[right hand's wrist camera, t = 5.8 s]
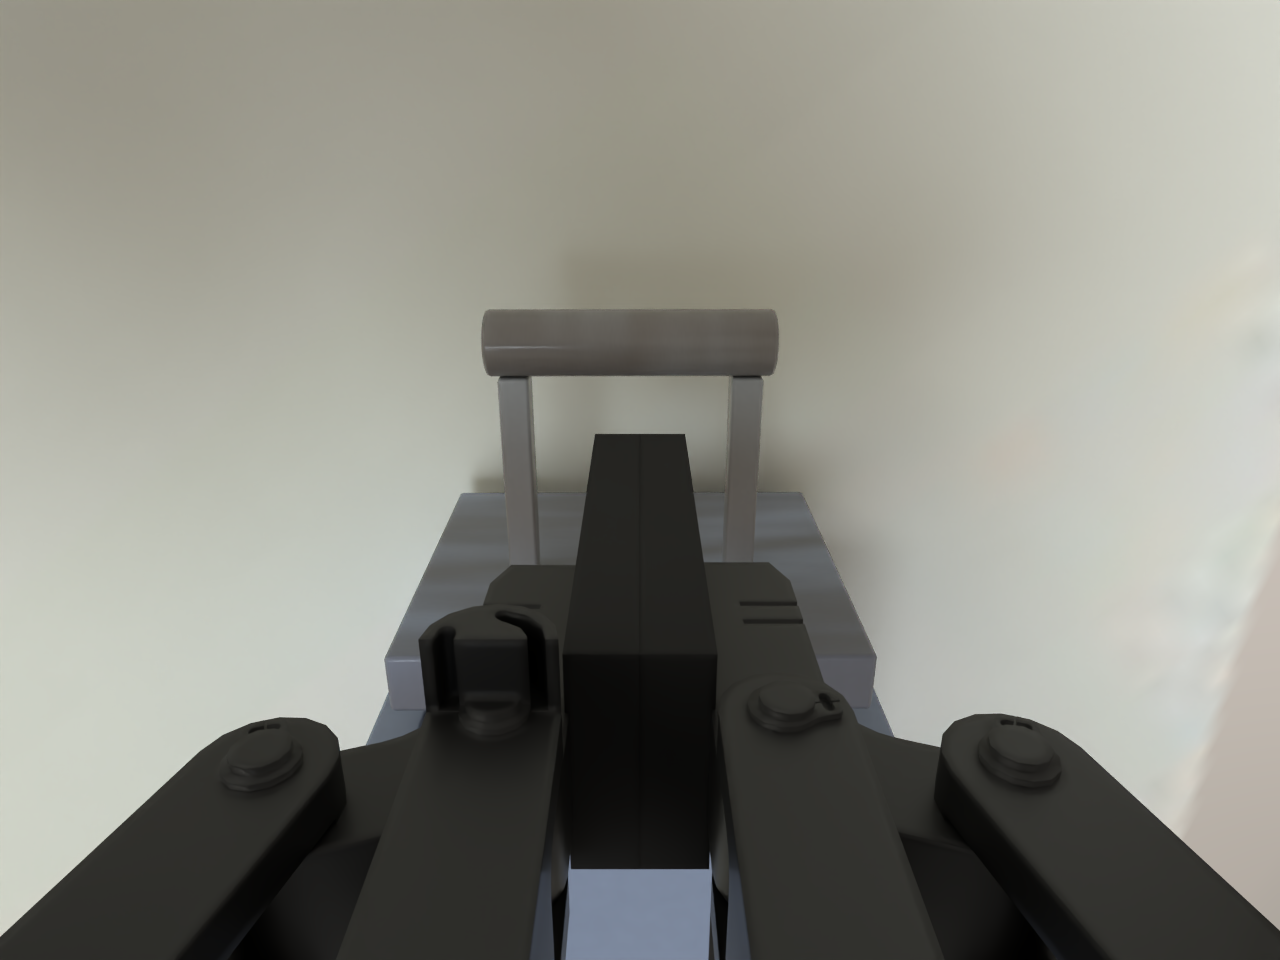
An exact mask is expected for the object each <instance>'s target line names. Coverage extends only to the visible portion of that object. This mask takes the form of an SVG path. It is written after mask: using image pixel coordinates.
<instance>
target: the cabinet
mask: <svg viewBox="0 0 1280 960" xmlns="http://www.w3.org/2000/svg"><path fill="white" fill-rule="evenodd" d="M852 709H853V711H854V713H855V716H856V718H857V721H858V723H859V724H861V725H863V726H865V727H867V728H870V729H872V730H874V731H876V732H878V733H882V734H885V735H889V736H892V737H894V735H893V733H892V731H891V728H890V726H889V723H888V721H887V719H886V716H885V714H884V712H883V709H882V707H881V705H880V702H879V700H878V698H877V695H876V693H875V691H874V688H873V692H872V700H871V705H870V707H869V708H852ZM425 714H426V710H403V711H395V710H392V708H391V704H390V697H389V693H388V695H387V697H386V700H385V702H384V704H383V707H382V709H381V711H380V714H379V716H378V718H377V721H376V723H375V725H374V727H373V730H372V732H371V734H370V737H369V739H368V741H367V744H366V745H370V744H375V743H380V742H383V741H387V740H390V739H394V738H397V737H400V736H403V735H405V734H407V733H410V732H412V731H414V730H416V729H418V728H420V727H421V725H422V722H423V720H424V717H425ZM568 884H569V908H570V914H569V925H568V937H567V948H566V960H708V957H709V932H710V908H711V884H712V867H711V857H710V861H709V869H571V861H569V871H568Z"/></svg>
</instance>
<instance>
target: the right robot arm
mask: <svg viewBox="0 0 1280 960" xmlns="http://www.w3.org/2000/svg"><path fill="white" fill-rule="evenodd" d="M418 642H419V651H420V660H421V669H422V678H423V687H424V696H425V705H426V714H425V717H424V720H423V722H422V725H421V727H420V728H418V729H416V730H414V731H412V732H410V733H407V734H405V735H403V736H400V737H397V738H394V739H390V740H387V741H383V742H380V743H375V744H370V745H366V746H361V747H356V748H352V749H347V750H343V751H340V748H339V742H338V738H337V737H336V736H335V734H334V733H333V732H332V731H331V730H330V729H329V728H328V727H327V726H326V725H324V724H321V723H318V722H315V721H313V720H310V719H307V718H282V717H279V718H274V719H269V720H263V721H259V722H255V723H250V724H248V725H246V726H243V727H241V728H238V729H236V730H234V731H231V732H229V733H227V734H224V735H222V736H221V737H220V738H218V739H217V740H215V741H214V742H212V743H211V744H210V745H208V746H207V747H205V748H204V749H203V750H201V751H200V752H199V753H198V754H197V755H196V756H194V757H193V758H192V759H191V760H190V761H189V762H188V763H187V764H186V765H185V766H184V767H183V768H182V769H180V770H179V771H178V772H177V773H176V774H175V775H174V776H173V777H172V778H171V779H170V780H169V781H168V782H166V783H165V784H164V785H163V786H162V787H161V788H160V789H159V790H158V791H157V792H156V793H155V794H154V795H152V796H151V797H150V798H149V799H148V800H147V801H146V802H145V803H144V804H143V805H142V806H141V807H140V808H138V809H137V810H136V811H135V812H134V813H133V814H132V815H131V816H130V817H129V818H128V819H127V820H126V821H124V822H123V823H122V824H121V825H120V826H119V827H118V828H117V829H116V830H115V831H114V832H113V833H112V834H111V835H109V836H108V837H107V838H106V839H105V840H104V841H103V842H102V843H101V844H100V845H99V846H98V847H97V848H95V849H94V850H93V851H92V852H91V853H90V854H89V855H88V856H87V857H86V858H85V859H84V860H83V861H81V862H80V863H79V864H78V865H77V866H76V867H75V868H74V869H73V870H72V871H71V872H70V873H69V874H67V875H66V876H65V877H64V878H63V879H62V880H61V881H60V882H59V883H58V884H57V885H56V886H55V887H53V888H52V889H51V890H50V891H49V892H48V893H47V894H46V895H45V896H44V897H43V898H42V899H41V900H39V901H38V902H37V903H36V904H35V905H34V906H33V907H32V908H31V909H30V910H29V911H28V912H27V913H26V914H24V915H23V916H22V917H21V918H20V919H19V920H18V921H17V922H16V923H15V924H14V925H13V926H12V927H10V928H9V929H8V930H7V931H6V932H5V933H4V934H3V935H2V936H1V937H0V960H566V948H567V937H568V925H569V914H570V908H569V884H568V871H569V861H571V869H709V861H710V857H711V867H712V884H711V908H710V932H709V957H708V960H1280V931H1279V930H1278V929H1277V928H1276V927H1275V926H1274V925H1273V924H1272V923H1271V922H1270V921H1269V920H1267V919H1266V918H1265V917H1264V916H1263V915H1262V914H1261V913H1260V912H1259V911H1258V910H1257V909H1256V908H1254V907H1253V906H1252V905H1251V904H1250V903H1249V902H1248V901H1247V900H1246V899H1245V898H1244V897H1242V896H1241V895H1240V894H1239V893H1238V892H1237V891H1236V890H1235V889H1234V888H1233V887H1232V886H1231V885H1229V884H1228V883H1227V882H1226V881H1225V880H1224V879H1223V878H1222V877H1221V876H1220V875H1219V874H1218V873H1217V872H1215V871H1214V870H1213V869H1212V868H1211V867H1210V866H1209V865H1208V864H1207V863H1206V862H1205V861H1204V860H1202V859H1201V858H1200V857H1199V856H1198V855H1197V854H1196V853H1195V852H1194V851H1193V850H1192V849H1190V848H1189V847H1188V846H1187V845H1186V844H1185V843H1184V842H1183V841H1182V840H1181V839H1180V838H1179V837H1177V836H1176V835H1175V834H1174V833H1173V832H1172V831H1171V830H1170V829H1169V828H1168V827H1167V826H1166V825H1164V824H1163V823H1162V822H1161V821H1160V820H1159V819H1158V818H1157V817H1156V816H1155V815H1154V814H1153V813H1151V812H1150V811H1149V810H1148V809H1147V808H1146V807H1145V806H1144V805H1143V804H1142V803H1141V802H1140V801H1138V800H1137V799H1136V798H1135V797H1134V796H1133V795H1132V794H1131V793H1130V792H1129V791H1128V790H1127V789H1125V788H1124V787H1123V786H1122V785H1121V784H1120V783H1119V782H1118V781H1117V780H1116V779H1115V778H1114V777H1112V776H1111V775H1110V774H1109V773H1108V772H1107V771H1106V770H1105V769H1104V768H1103V767H1102V766H1101V765H1099V764H1098V763H1097V762H1096V761H1095V760H1094V759H1093V758H1092V757H1091V756H1090V755H1089V754H1087V753H1086V752H1085V751H1084V750H1083V749H1082V748H1081V747H1080V746H1078V745H1077V744H1075V743H1074V742H1072V741H1071V740H1070V739H1068V738H1067V737H1065V736H1064V735H1063V734H1061V733H1060V732H1058V731H1056V730H1054V729H1051V728H1049V727H1047V726H1044V725H1042V724H1039V723H1037V722H1035V721H1032V720H1030V719H1025V718H1021V717H1015V716H1010V715H1005V714H975V715H972V716H969V717H966V718H963V719H960V720H957V721H954V723H953V724H952V725H951V726H950V727H949V728H948V729H947V730H946V731H945V732H944V733H943V736H942V742H941V748H940V747H936V746H931V745H926V744H922V743H917V742H913V741H908V740H903V739H899V738H895V737H892V736H889V735H885V734H882V733H878V732H876V731H874V730H872V729H870V728H867V727H865V726H863V725H861V724H859V723H858V721H857V718H856V716H855V713H854V711H853V709H852V708H851V706H850V705H849V703H848V702H847V700H846V699H845V698H844V696H843V695H842V694H840V693H839V692H837V691H836V690H834V689H833V688H832V687H830V686H829V685H827V684H826V683H824V680H823V677H822V674H821V671H820V668H819V665H818V662H817V659H816V656H815V653H814V650H813V647H812V644H811V641H810V638H809V635H808V632H807V629H806V626H805V624H803V617H802V614H801V611H800V608H799V606H797V599H796V597H795V594H794V591H793V588H792V585H791V582H790V580H789V579H788V578H787V577H785V576H784V575H783V574H782V573H781V572H780V571H778V570H777V569H776V568H775V567H774V566H773V565H771V564H770V563H769V562H704V560H703V553H702V546H701V539H700V533H699V526H698V519H697V513H696V506H695V499H694V492H693V486H692V479H691V472H690V466H689V459H688V452H687V446H686V439H685V434H595V439H594V446H593V452H592V459H591V466H590V472H589V479H588V486H587V492H586V499H585V506H584V513H583V519H582V526H581V533H580V539H579V546H578V553H577V560H576V565H511V566H510V567H508V568H507V569H506V570H505V571H504V572H503V573H501V574H500V575H499V576H498V577H497V578H496V579H494V580H493V581H492V582H491V583H490V585H489V588H488V591H487V594H486V597H485V600H484V603H483V605H482V606H473V607H470V608H466V609H463V610H460V611H456V612H453V613H450V614H448V615H446V616H444V617H443V618H441V619H439V620H438V621H436V622H434V623H433V624H431V625H429V627H428V628H427V629H426V630H425V632H424V633H423V634H422V635H421V637H420V638H419V639H418Z"/></svg>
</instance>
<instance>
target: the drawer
mask: <svg viewBox="0 0 1280 960" xmlns="http://www.w3.org/2000/svg"><path fill="white" fill-rule="evenodd" d="M481 343H482V357H483V363H484V368H485V371H486V373H487V375H489V376H500V378H499V380H498V395H499V410H500V426H501V441H502V456H503V472H504V487H505V493H463V494H461V495H460V497H459V500H458V502H457V504H456V506H455V508H454V510H453V512H452V515H451V517H450V519H449V521H448V523H447V525H446V527H445V530H444V532H443V534H442V536H441V538H440V540H439V543H438V545H437V547H436V549H435V551H434V553H433V555H432V558H431V560H430V562H429V564H428V566H427V568H426V570H425V573H424V575H423V577H422V579H421V581H420V583H419V586H418V588H417V590H416V592H415V594H414V596H413V598H412V601H411V603H410V605H409V607H408V609H407V611H406V614H405V616H404V618H403V620H402V622H401V624H400V626H399V629H398V631H397V633H396V635H395V637H394V639H393V641H392V644H391V646H390V648H389V650H388V652H387V654H386V657H385V659H384V660H385V667H386V674H387V682H388V689H389V697H390V704H391V708H392V710H395V711H403V710H426V705H425V696H424V687H423V678H422V669H421V660H420V651H419V642H418V639H419V638H420V637H421V635H422V634H423V633H424V632H425V630H426V629H427V628H428V627H429V625H431V624H433V623H434V622H436V621H438V620H439V619H441V618H443V617H444V616H446V615H448V614H450V613H453V612H456V611H460V610H463V609H466V608H470V607H473V606H482V605H483V603H484V600H485V597H486V594H487V591H488V588H489V585H490V583H491V582H492V581H493V580H494V579H496V578H497V577H498V576H499V575H500V574H501V573H503V572H504V571H505V570H506V569H507V568H508V567H510V566H511V565H576V560H577V553H578V546H579V539H580V533H581V526H582V519H583V513H584V506H585V499H586V493H537V476H536V456H535V436H534V416H533V396H532V376H729V399H728V424H727V448H726V473H725V492H694V499H695V506H696V513H697V519H698V526H699V533H700V539H701V546H702V553H703V560H704V562H769V563H770V564H771V565H773V566H774V567H775V568H776V569H777V570H778V571H780V572H781V573H782V574H783V575H784V576H785V577H787V578H788V579H789V580H790V582H791V585H792V588H793V591H794V594H795V597H796V599H797V606H799V608H800V611H801V614H802V617H803V624H805V626H806V629H807V632H808V635H809V638H810V641H811V644H812V647H813V650H814V653H815V656H816V659H817V662H818V665H819V668H820V671H821V674H822V677H823V680H824V683H826V684H827V685H829V686H830V687H832V688H833V689H834V690H836V691H837V692H839V693H840V694H842V695H843V696H844V698H845V699H846V700H847V702H848V703H849V705H850V706H851V708H869V707H870V705H871V700H872V692H873V684H874V676H875V668H876V660H877V657H876V654H875V652H874V650H873V647H872V645H871V643H870V641H869V639H868V636H867V634H866V632H865V630H864V628H863V626H862V623H861V621H860V619H859V617H858V615H857V612H856V610H855V608H854V606H853V604H852V601H851V599H850V597H849V595H848V593H847V590H846V588H845V586H844V584H843V582H842V580H841V577H840V575H839V573H838V571H837V569H836V566H835V564H834V562H833V560H832V558H831V555H830V553H829V551H828V549H827V547H826V544H825V542H824V540H823V538H822V536H821V534H820V531H819V529H818V527H817V525H816V523H815V520H814V518H813V516H812V514H811V512H810V509H809V507H808V505H807V503H806V501H805V498H804V496H803V494H802V493H800V492H757V483H758V466H759V448H760V430H761V413H762V395H763V379H762V377H761V376H770V375H773V374H774V371H775V369H776V365H777V359H778V349H779V329H778V320H777V316H776V313H775V311H774V310H772V309H580V310H487V311H486V312H485V314H484V317H483V321H482V334H481Z"/></svg>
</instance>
